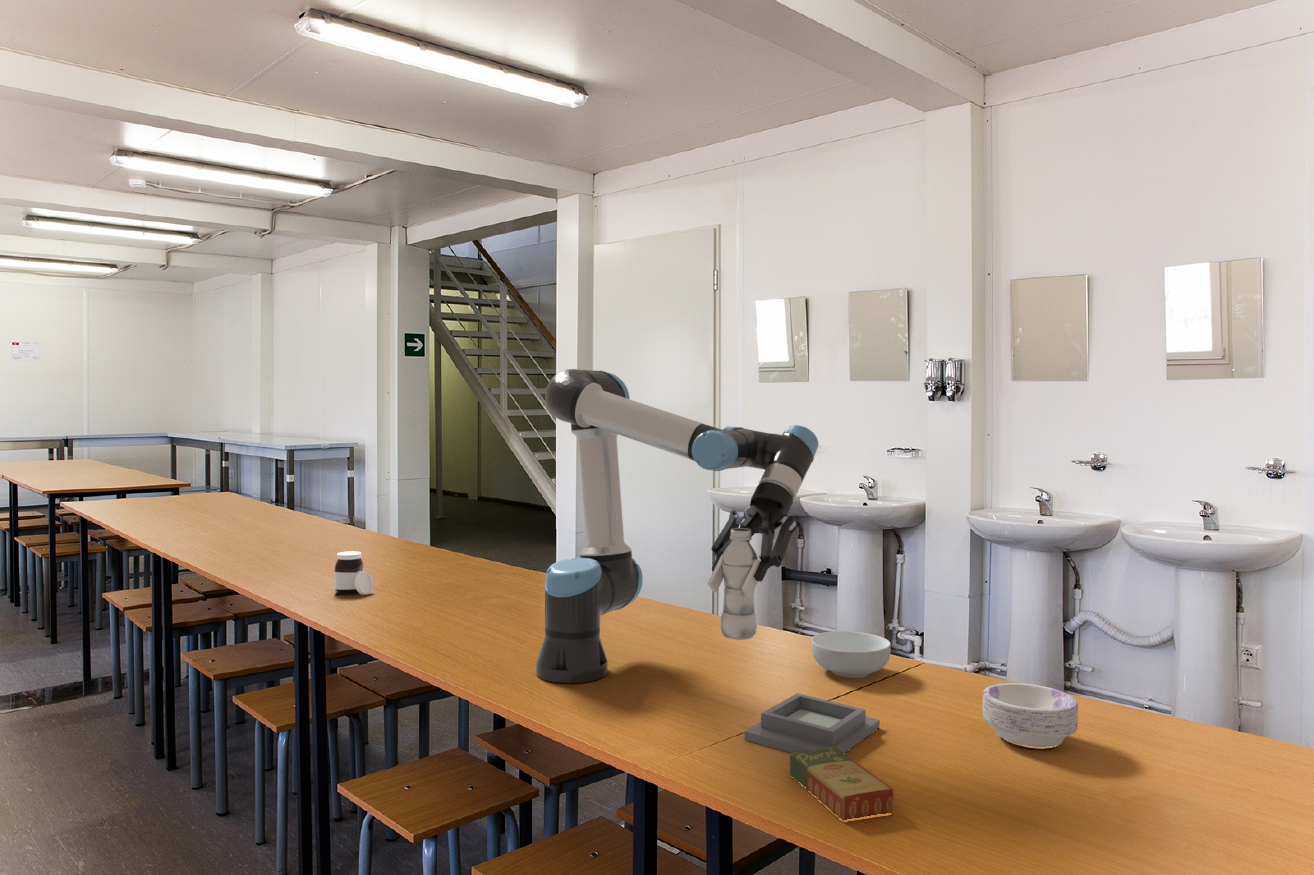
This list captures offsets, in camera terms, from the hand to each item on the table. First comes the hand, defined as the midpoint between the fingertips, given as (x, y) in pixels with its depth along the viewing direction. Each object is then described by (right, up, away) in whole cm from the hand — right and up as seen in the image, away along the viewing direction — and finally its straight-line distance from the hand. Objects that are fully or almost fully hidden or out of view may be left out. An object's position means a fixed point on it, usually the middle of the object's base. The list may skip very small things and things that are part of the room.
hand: (728, 590), depth 153 cm
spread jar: (-102, -19, +101) cm, 145 cm away
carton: (+14, -26, -26) cm, 39 cm away
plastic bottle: (+2, -10, +3) cm, 10 cm away
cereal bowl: (+29, -24, +33) cm, 50 cm away
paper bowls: (+52, -26, -4) cm, 58 cm away
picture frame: (+15, -25, -3) cm, 29 cm away
